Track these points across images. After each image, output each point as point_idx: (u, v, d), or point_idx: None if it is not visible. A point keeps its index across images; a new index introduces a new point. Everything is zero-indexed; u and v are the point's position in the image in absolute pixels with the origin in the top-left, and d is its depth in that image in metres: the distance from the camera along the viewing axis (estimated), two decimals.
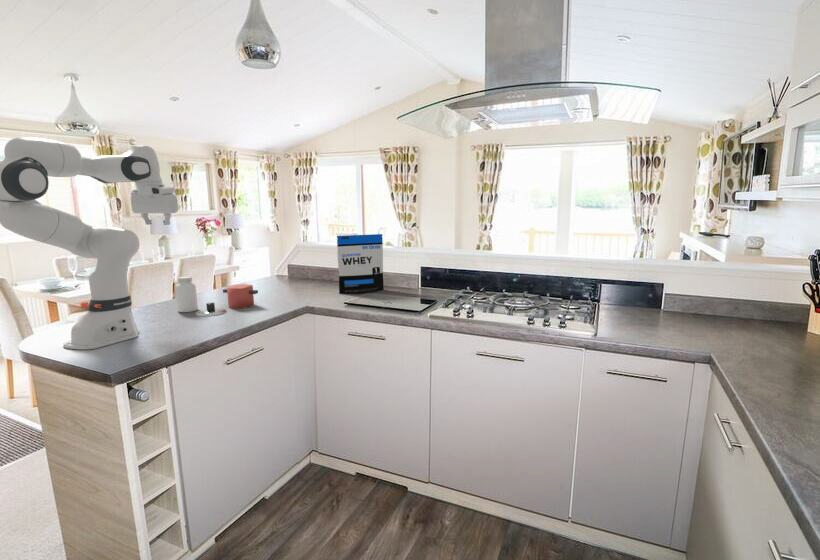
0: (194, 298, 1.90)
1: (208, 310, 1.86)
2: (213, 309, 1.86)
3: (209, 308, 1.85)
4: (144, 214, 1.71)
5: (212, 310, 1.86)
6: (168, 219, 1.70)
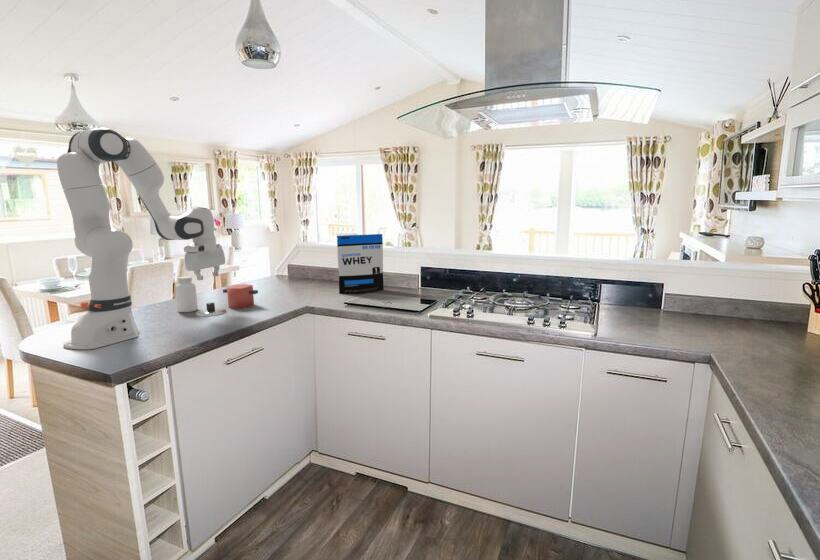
0: (194, 298, 1.90)
1: (208, 310, 1.86)
2: (213, 309, 1.86)
3: (209, 308, 1.85)
4: (214, 266, 1.89)
5: (212, 310, 1.86)
6: (198, 275, 1.79)
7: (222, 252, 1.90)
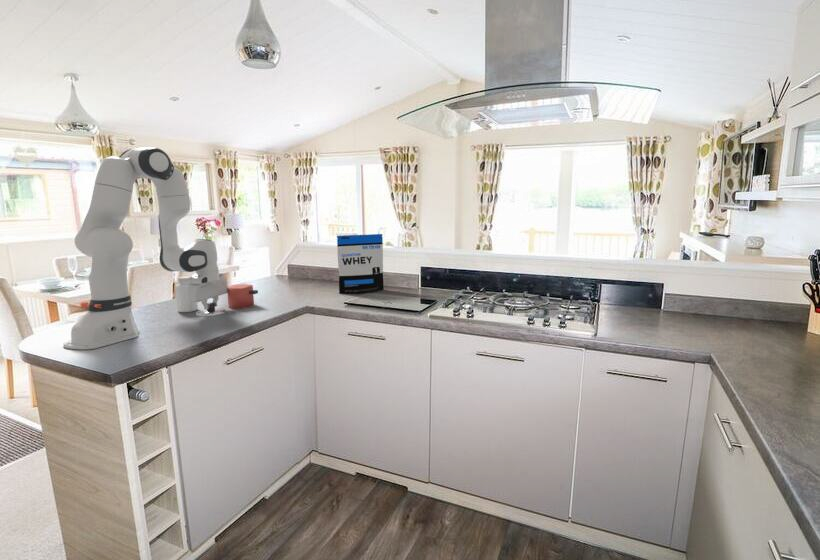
0: None
1: (208, 310, 1.86)
2: (213, 309, 1.86)
3: None
4: (213, 297, 1.89)
5: (212, 310, 1.86)
6: (205, 305, 1.83)
7: (225, 281, 1.93)
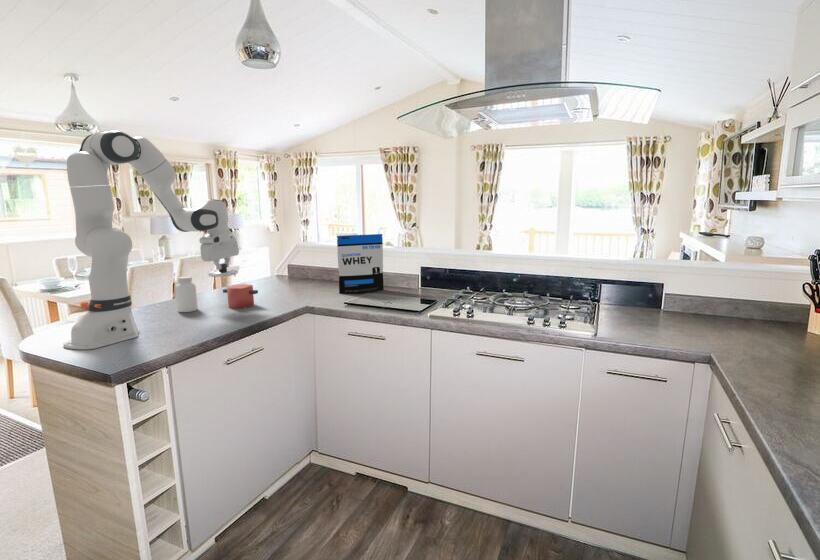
0: (194, 298, 1.90)
1: (220, 270, 1.89)
2: (225, 269, 1.89)
3: None
4: (224, 258, 1.92)
5: (224, 270, 1.89)
6: (217, 265, 1.86)
7: (236, 243, 1.95)
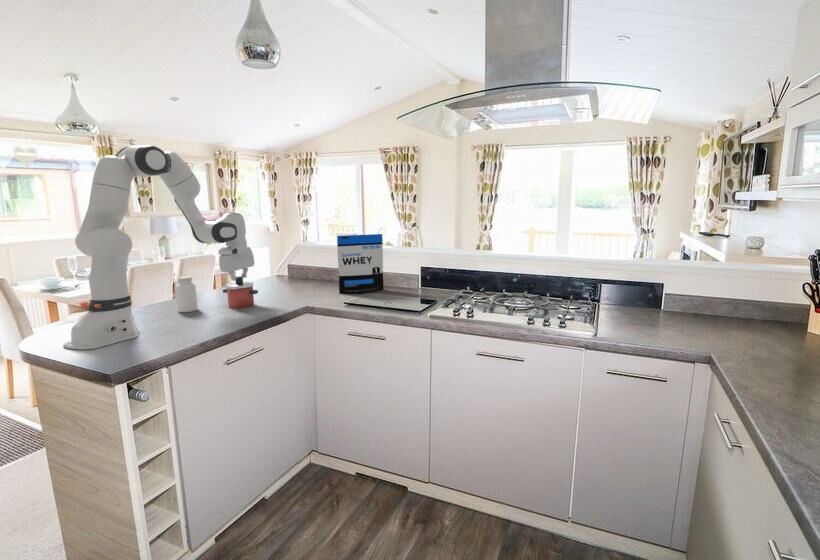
0: (194, 298, 1.90)
1: (237, 283, 1.96)
2: (242, 282, 1.97)
3: (238, 281, 1.96)
4: (243, 268, 2.00)
5: (241, 283, 1.96)
6: (232, 276, 1.92)
7: (252, 255, 2.03)
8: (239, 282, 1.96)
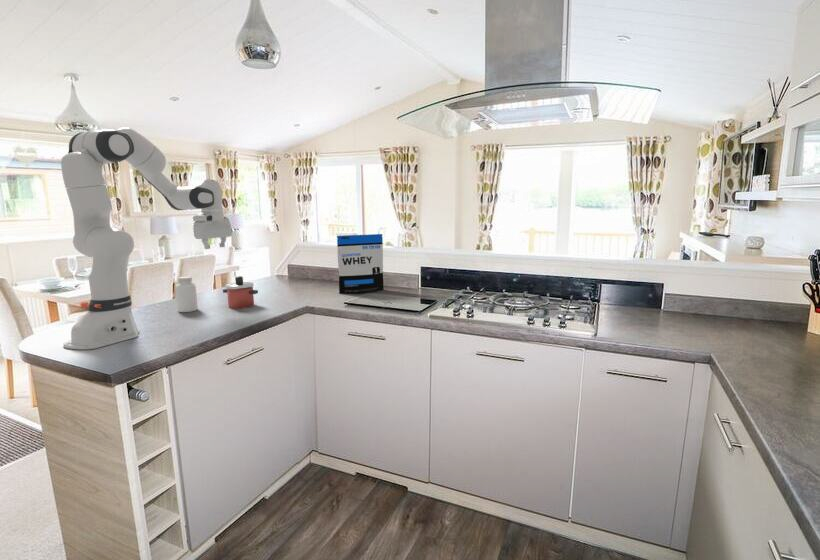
0: (194, 298, 1.90)
1: (237, 283, 1.96)
2: (242, 282, 1.97)
3: (238, 281, 1.96)
4: (221, 238, 1.98)
5: (241, 283, 1.96)
6: (205, 244, 1.88)
7: (229, 224, 2.00)
8: (239, 282, 1.96)
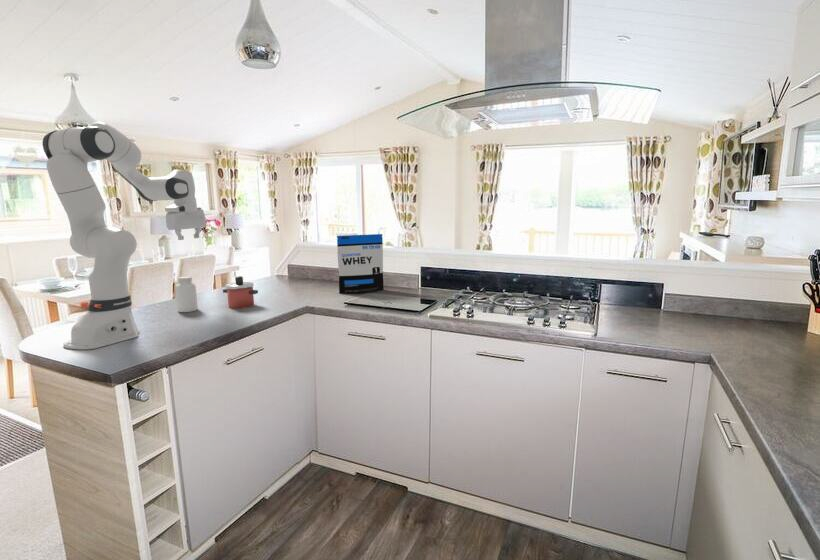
0: (194, 298, 1.90)
1: (237, 283, 1.96)
2: (242, 282, 1.97)
3: (238, 281, 1.96)
4: (195, 229, 1.98)
5: (241, 283, 1.96)
6: (179, 235, 1.87)
7: (203, 215, 1.99)
8: (239, 282, 1.96)
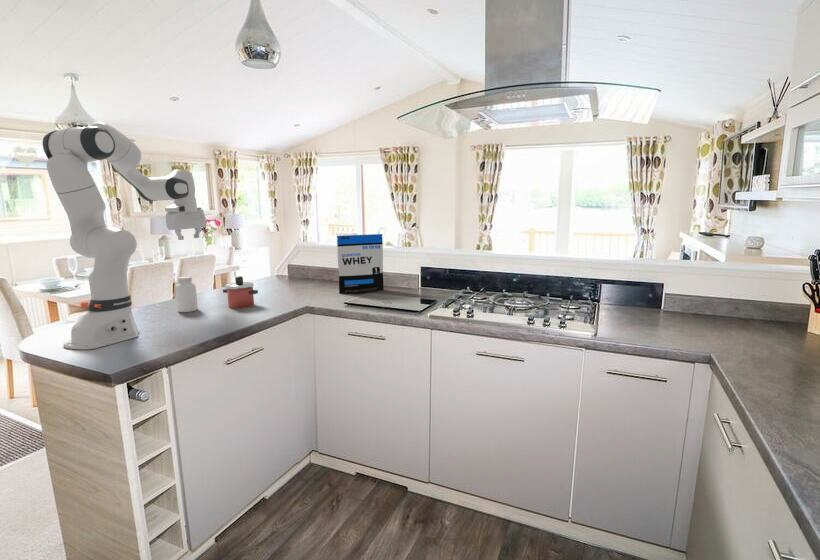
0: (194, 298, 1.90)
1: (237, 283, 1.96)
2: (242, 282, 1.97)
3: (238, 281, 1.96)
4: (195, 229, 1.98)
5: (241, 283, 1.96)
6: (179, 235, 1.87)
7: (203, 215, 1.99)
8: (239, 282, 1.96)
